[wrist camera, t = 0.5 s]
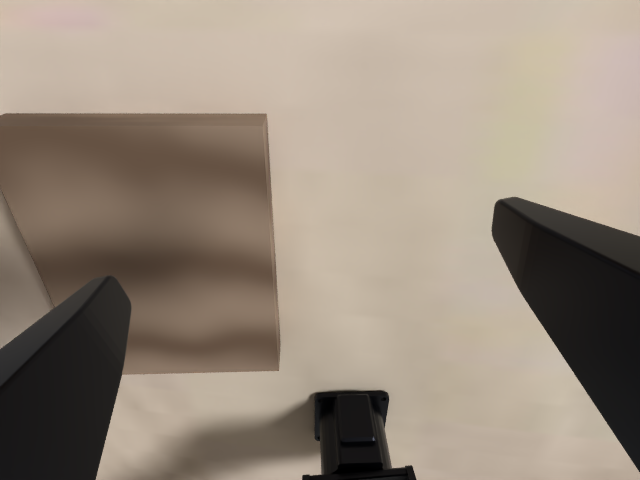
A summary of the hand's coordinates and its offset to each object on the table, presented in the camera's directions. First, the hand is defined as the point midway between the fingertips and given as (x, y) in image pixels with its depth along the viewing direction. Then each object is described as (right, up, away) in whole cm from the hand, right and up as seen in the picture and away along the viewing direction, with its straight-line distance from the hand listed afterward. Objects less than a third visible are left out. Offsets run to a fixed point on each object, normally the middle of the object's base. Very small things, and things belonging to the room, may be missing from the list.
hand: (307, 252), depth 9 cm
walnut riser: (-10, 0, +17) cm, 19 cm away
